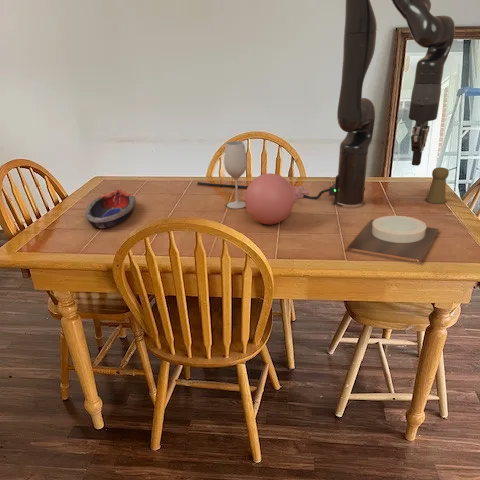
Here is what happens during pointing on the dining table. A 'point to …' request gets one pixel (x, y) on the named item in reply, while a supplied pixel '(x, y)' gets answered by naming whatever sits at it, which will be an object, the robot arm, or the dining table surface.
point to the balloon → (271, 198)
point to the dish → (110, 209)
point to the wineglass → (235, 166)
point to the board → (393, 244)
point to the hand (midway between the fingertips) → (415, 164)
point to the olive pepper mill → (438, 185)
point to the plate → (398, 229)
